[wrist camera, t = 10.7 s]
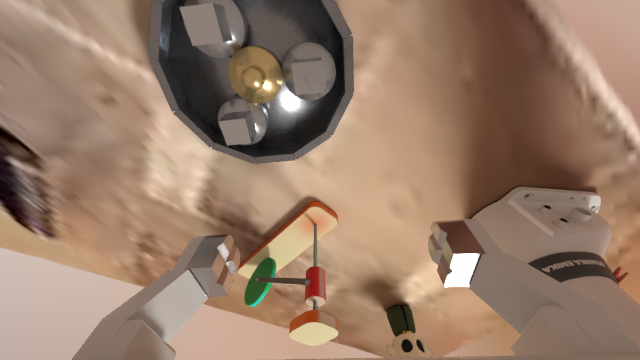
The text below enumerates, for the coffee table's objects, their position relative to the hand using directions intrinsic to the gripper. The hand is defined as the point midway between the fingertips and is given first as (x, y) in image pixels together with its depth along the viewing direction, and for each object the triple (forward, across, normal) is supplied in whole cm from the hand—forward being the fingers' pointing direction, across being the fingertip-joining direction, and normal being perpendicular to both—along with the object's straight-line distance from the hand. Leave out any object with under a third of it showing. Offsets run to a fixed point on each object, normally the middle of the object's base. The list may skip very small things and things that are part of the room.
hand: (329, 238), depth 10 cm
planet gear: (+24, +2, -3) cm, 24 cm away
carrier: (+25, +8, -3) cm, 26 cm away
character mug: (+26, -13, +56) cm, 63 cm away
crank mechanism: (+25, +11, +28) cm, 39 cm away
